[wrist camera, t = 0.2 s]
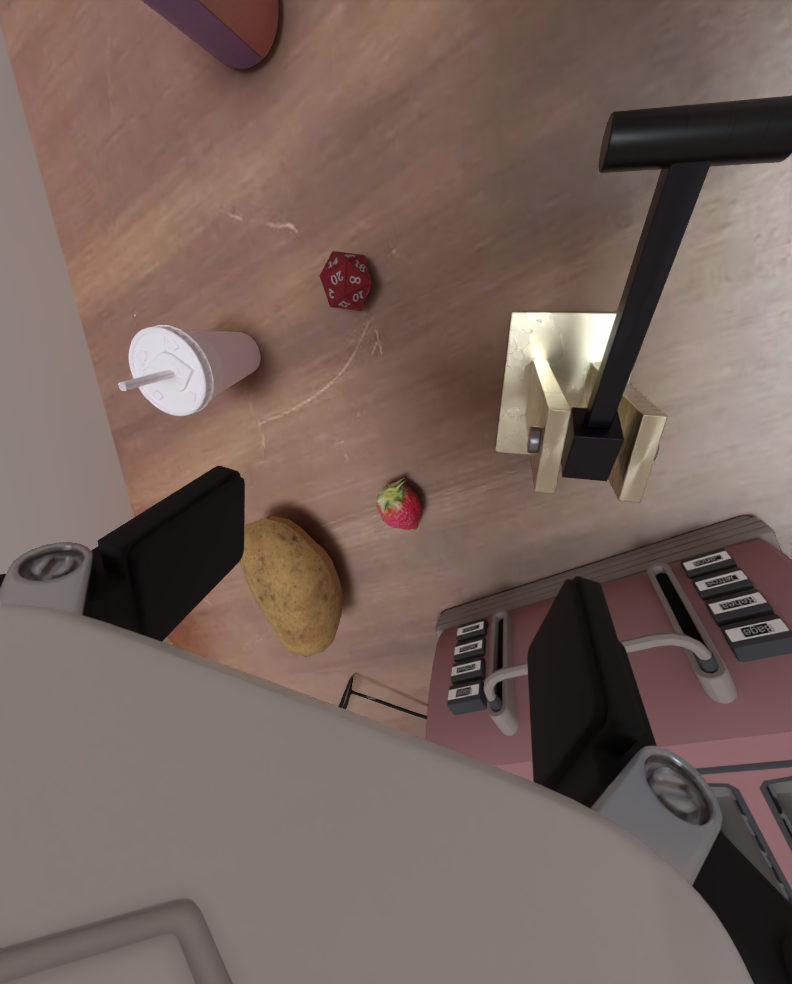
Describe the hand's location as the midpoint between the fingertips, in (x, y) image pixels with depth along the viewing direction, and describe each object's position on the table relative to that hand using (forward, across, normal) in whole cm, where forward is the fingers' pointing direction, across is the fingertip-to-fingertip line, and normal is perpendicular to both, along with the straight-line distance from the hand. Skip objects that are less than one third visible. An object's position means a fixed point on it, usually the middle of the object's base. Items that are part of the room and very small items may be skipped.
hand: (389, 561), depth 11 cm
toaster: (+26, -24, +25) cm, 43 cm away
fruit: (+26, +3, +13) cm, 29 cm away
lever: (+12, -6, -7) cm, 15 cm away
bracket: (+26, -7, -1) cm, 27 cm away
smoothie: (+26, +21, +3) cm, 33 cm away
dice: (+26, +11, -5) cm, 28 cm away
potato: (+26, +12, +24) cm, 37 cm away
